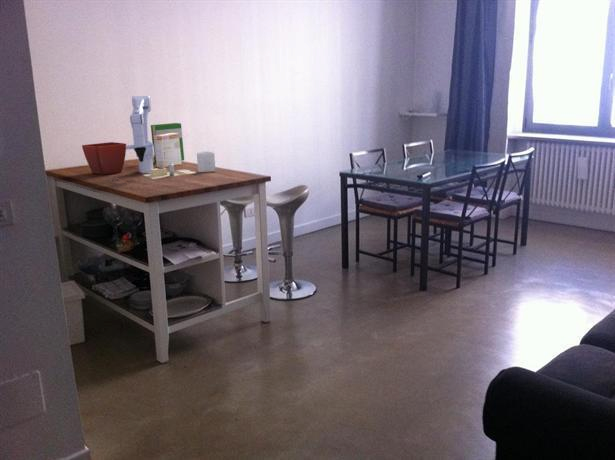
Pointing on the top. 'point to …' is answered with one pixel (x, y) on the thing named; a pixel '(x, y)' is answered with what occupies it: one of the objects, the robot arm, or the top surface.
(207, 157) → the white rounded block
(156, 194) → the top surface
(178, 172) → the subfloor board
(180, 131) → the green white carton
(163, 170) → the cream rectangular block
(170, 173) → the silver metal cylinder
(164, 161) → the coffeecake box
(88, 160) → the plant pot
